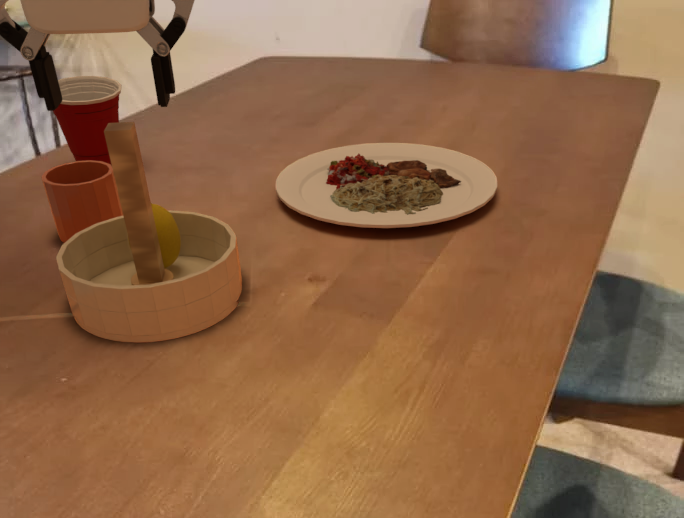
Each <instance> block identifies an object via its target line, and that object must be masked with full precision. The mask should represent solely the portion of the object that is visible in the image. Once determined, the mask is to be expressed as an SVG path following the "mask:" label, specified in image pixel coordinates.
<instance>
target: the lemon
mask: <svg viewBox="0 0 684 518" xmlns="http://www.w3.org/2000/svg"><path fill="white" fill-rule="evenodd" d="M151 206H152V211H153V216H154V221H155V226H156V231H157V236H158V241H159V245H160V250H161V255H162V260H163V265H164V269H166V268H167V267H169V266H170V265H172V264H173V263H174V262H175V261H176V259H177V257H178V256H179V253H180V247H181V238H180V233H179V229H178V227H177V224H176V222H175V220H174V218H173V216H172V215H171V214H170V212H169V211H167V210H168V209H167V208H165V207H163V206H161V205H159V204H157V203H152V202H151ZM128 241H129V238H128ZM129 245H130V242H129ZM130 248H131V246H130Z"/></svg>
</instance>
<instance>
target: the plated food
mask: <svg viewBox="0 0 684 518" xmlns="http://www.w3.org/2000/svg"><path fill="white" fill-rule="evenodd" d="M497 190H498V177H497V175H496V173H495V172H494V171H493V169H492V168H491V167H489V166H488V165H487V164H486V163H484V162H483V161H481V160H479V159H478V158H475V157H474V156H471V155H469V154H465V153H463V152H460V151H458V150H453V149H449V148H447V147H446V148H445V147H441V146H434V145H429V144H422V143H409V142H369V143H357V144H349V145H343V146H338V147H337V146H336V147H332V148H328V149H325V150H321V151H317V152H313V153H310V154H309V155H306V156H304V157H301V158H298V159H297V160H295V161H293V162H292V163H290V164H288V165H287V166H286V167H284V169H282V170H281V171H280V172H279V174H278V176H277V178H276V179H275V193H276V194H277V196H278V198H279V200H280V201H282V203H284V205H285V206H287V207H288V208H289V209H291V210H293V211H295V212H297V213H299V214H300V215H303V216H306V217H310V218H312V219H314V220H317V221H320V222H321V221H322V222H325V223H331V224H335V225H340V226H348V227H356V228H369V229H370V228H373V229H375V228H376V229H396V228H398V229H399V228H412V227H419V226H428V225H433V224H434V225H435V224H438V223H442V222H443V223H444V222H447V221H451V220H455V219H458V218H460V217H463V216H466V215H469V214H471V213H474V212H475V211H477V210H478V209H481V208H482V207H484V206H486V204H488V203H489V201H491V200H492V199H493V198H494V196H495V194H496V192H497Z"/></svg>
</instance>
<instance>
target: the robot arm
mask: <svg viewBox="0 0 684 518" xmlns="http://www.w3.org/2000/svg"><path fill="white" fill-rule="evenodd" d="M9 1H10V0H0V37H1V38H2V39H3V40H5V41H6V42H7V43H8V44H10V45H11V46H12V47H13V48H14V49H16V50H17V51H18V52H20V54H21V57H22V58H23V59H24V60H26V61H28V64H29V67H30V71H31V75H32V79H33V83H34V86H35V91H36V93H37V96H38V98H39V99H43V100H44V105H45V108H46V111H48V112H53V111H55V109H57V107H58V106H59V105H60V103H61V102H62V94H61V90H60V86H59V82H58V80H59V78H58V74H57V70H56V66H55V63H54V58H53V55H52V54H51V53H50V51H47V49H46V44H47V42H48V40H49V39H50V36H51V35H82V34H113V33H114V34H116V33H132V32H137V34H138V35H139V36H140V37H141V38H142V39H143V40H144V41H145V42H146V43H147V44H148V45H149V46H150V47H151V49H152V55H151V56H150V64H151V69H152V70H151V71H152V76H153V82H154V88H155V89H154V90H155V93H156V94H155V95H156V100H157V105H158V106H160V107H161V108H167V107H168V105H169V102H170V99H171V95H174V94H176V81H175V76H174V69H173V63H172V55H171V50H172V49H173V48H174V46H175V45H176V44H177V42H178V41H179V39H181V37H182V35H183V34H184V33H185V31H186V28H187V26H188V23H189V20H190V16H191V13H192V10H193V7H194V4H195V1H196V0H171V1H172V2H173V4H174V7H175V8H174V11H173V15H172V19H171V20H170V21H169V22H168V24H167V25H166V27H163V26H162V25H161V24H160V23H159V22H158V21H157V19H156V18H155V17H154V15H155V12H156V3H155V0H19V1H20V4H21V7H22V12H23V14H24V17H25V20H26V22H27V24H28V25H29V27H30V28H29V30H28V31H27V30H26V29H25V28H23V27H22V26H21V25H20V24H19V23H18V22H16V20H14V19H12V17H11V16H10V15H9V14H10V13H8V11H7V9H6V3H7V2H9Z"/></svg>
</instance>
